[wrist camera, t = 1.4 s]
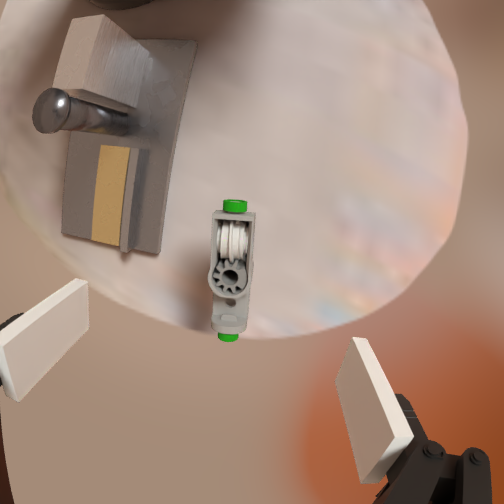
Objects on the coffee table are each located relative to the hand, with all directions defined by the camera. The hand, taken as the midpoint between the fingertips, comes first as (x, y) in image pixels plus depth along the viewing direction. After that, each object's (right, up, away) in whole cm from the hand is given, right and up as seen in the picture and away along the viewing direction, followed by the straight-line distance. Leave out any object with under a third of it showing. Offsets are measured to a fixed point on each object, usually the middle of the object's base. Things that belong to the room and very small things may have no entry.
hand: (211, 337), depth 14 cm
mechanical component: (+1, +5, +17) cm, 18 cm away
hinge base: (-11, +15, +14) cm, 24 cm away
